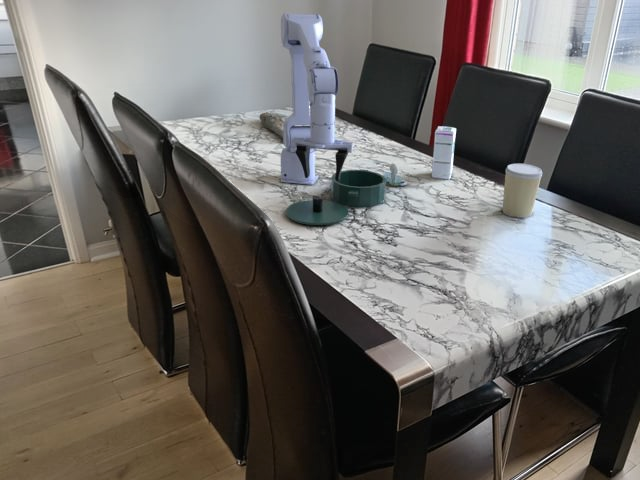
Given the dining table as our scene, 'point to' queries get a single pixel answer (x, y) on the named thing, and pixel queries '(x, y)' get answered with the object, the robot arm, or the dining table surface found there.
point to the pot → (358, 188)
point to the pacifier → (394, 177)
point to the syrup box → (443, 152)
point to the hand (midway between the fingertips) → (322, 178)
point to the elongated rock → (273, 122)
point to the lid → (317, 212)
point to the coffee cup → (520, 189)
